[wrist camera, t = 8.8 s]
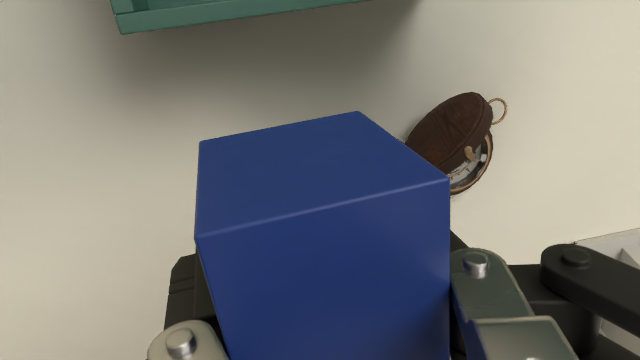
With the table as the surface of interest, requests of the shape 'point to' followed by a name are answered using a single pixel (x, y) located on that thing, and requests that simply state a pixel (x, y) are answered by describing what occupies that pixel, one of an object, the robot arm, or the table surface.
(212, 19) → the lunchbox
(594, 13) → the table surface
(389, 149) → the block
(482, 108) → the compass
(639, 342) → the phone holder
